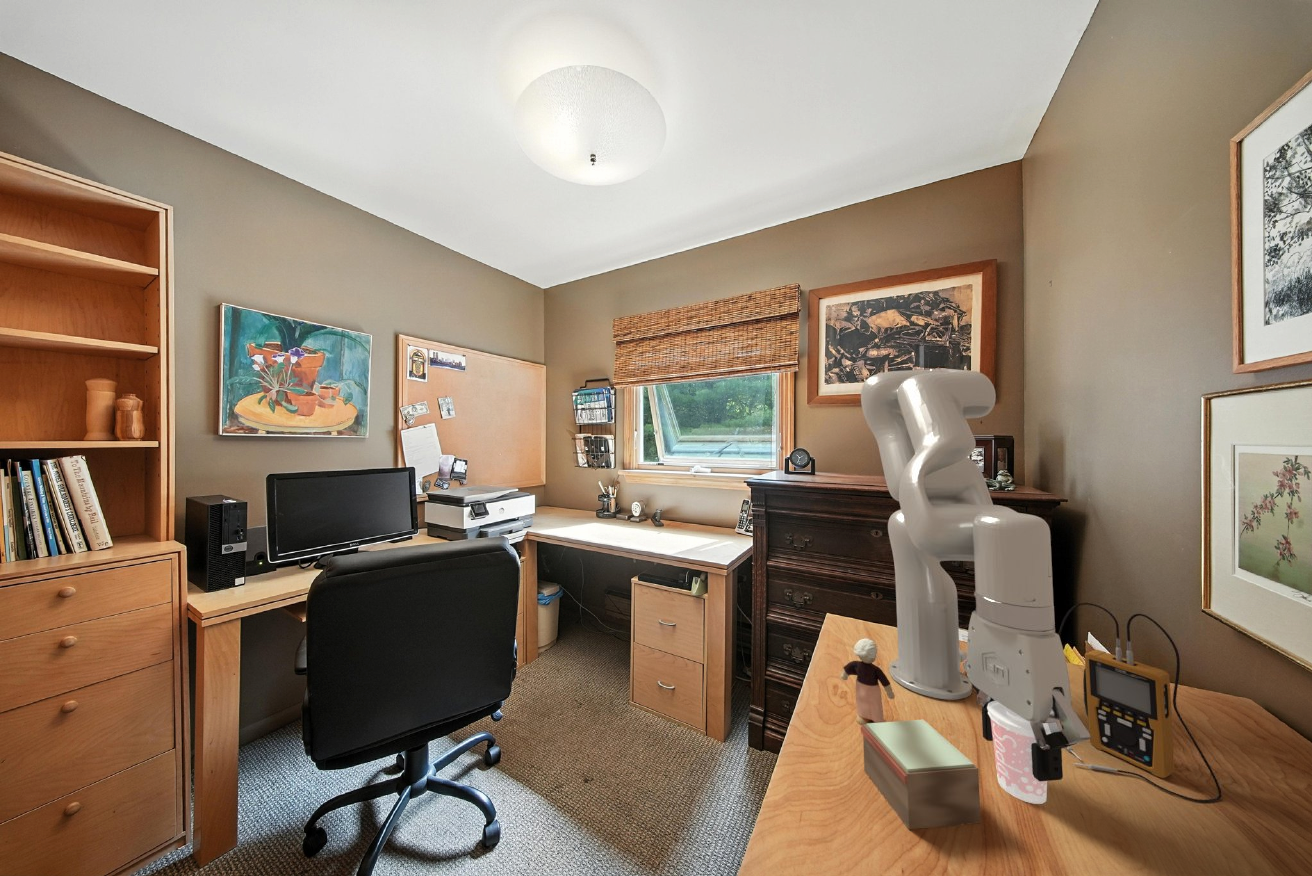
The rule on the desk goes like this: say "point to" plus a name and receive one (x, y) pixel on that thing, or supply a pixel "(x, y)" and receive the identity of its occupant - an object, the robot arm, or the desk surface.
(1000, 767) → the beverage cup
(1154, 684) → the multimeter
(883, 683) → the grandmother figurine
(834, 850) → the desk surface
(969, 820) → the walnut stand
